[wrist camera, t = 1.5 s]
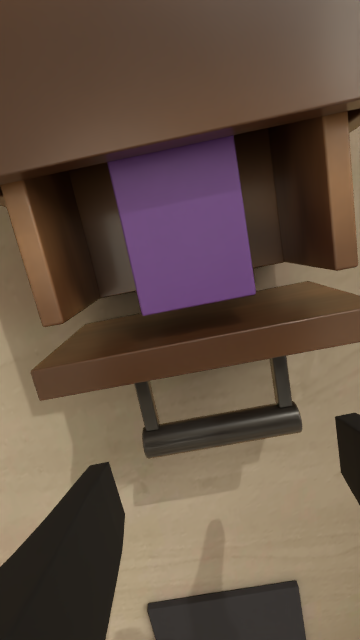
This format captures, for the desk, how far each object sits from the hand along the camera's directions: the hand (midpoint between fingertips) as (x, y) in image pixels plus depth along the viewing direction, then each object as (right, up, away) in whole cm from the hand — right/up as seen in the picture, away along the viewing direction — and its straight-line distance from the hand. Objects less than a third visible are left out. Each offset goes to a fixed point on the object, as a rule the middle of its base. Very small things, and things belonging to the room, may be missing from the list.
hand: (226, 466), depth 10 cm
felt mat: (+2, -19, +14) cm, 24 cm away
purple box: (-2, +10, +5) cm, 12 cm away
